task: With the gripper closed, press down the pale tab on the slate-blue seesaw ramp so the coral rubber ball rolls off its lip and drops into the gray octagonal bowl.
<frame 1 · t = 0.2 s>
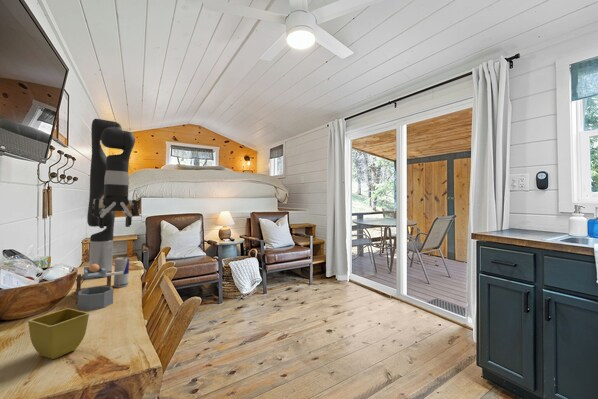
hand: (114, 227, 103), 28 cm above the table, tool pointing down, fingers open, 8 cm apart
ramp lever: (102, 272, 111), point 8 cm above the table, hinge at -8.0°, touching ball
lever stand: (93, 294, 109), on the table
ball: (94, 268, 113), point 10 cm above the table, tilted 10°, touching ramp lever
flower pot: (58, 353, 69), on the table
energy drink: (121, 286, 122), on the table
gray octagonal bowl: (95, 304, 100), on the table
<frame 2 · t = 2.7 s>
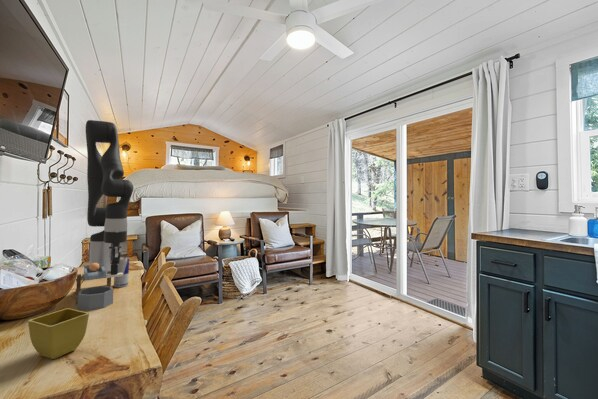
hand: (113, 274, 109), 9 cm above the table, tool pointing down, fingers closed
ramp lever: (102, 272, 111), point 8 cm above the table, hinge at -1.7°, touching ball, gripper
ball: (94, 267, 113), point 10 cm above the table, touching ramp lever
everything else where it was.
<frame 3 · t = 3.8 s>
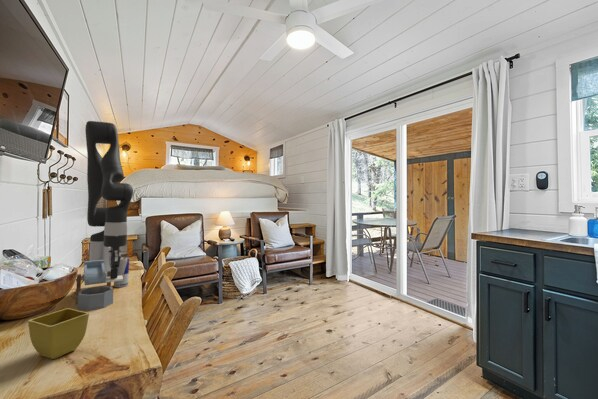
hand: (113, 278, 109), 7 cm above the table, tool pointing down, fingers closed
ramp lever: (102, 272, 111), point 8 cm above the table, hinge at 13.9°, touching gripper
ball: (96, 299, 98), point 2 cm above the table, tilted 70°, touching gray octagonal bowl
everything else where it was.
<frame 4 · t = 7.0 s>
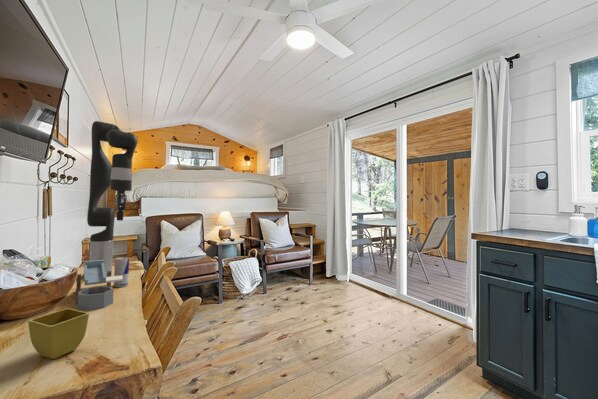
hand: (119, 220, 117), 29 cm above the table, tool pointing down, fingers closed
ramp lever: (102, 272, 111), point 8 cm above the table, hinge at 14.1°
everything else where it was.
at the end: ball inside the target area on the gray octagonal bowl (2.3 cm from its centre), point 2.3 cm above the gray octagonal bowl's base; ball moved 20.3 cm from its start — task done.
